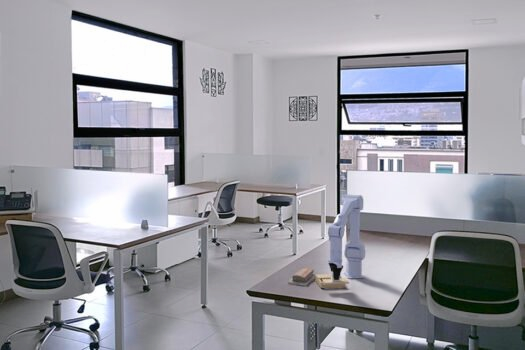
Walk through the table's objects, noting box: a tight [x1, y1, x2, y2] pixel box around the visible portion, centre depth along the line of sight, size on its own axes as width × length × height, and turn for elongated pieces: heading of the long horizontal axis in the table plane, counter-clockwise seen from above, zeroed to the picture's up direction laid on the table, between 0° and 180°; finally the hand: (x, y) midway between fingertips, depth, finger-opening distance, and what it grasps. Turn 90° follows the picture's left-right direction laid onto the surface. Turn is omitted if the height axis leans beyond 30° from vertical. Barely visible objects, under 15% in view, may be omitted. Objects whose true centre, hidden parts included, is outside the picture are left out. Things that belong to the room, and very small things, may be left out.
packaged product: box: [287, 267, 317, 287], centre depth 258 cm, size 18×5×10 cm
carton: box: [315, 273, 346, 289], centre depth 250 cm, size 12×12×4 cm
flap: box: [322, 271, 350, 285], centre depth 239 cm, size 6×12×5 cm, turn 96°
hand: (335, 278), depth 239 cm, fingers closed on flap, 3 cm apart
